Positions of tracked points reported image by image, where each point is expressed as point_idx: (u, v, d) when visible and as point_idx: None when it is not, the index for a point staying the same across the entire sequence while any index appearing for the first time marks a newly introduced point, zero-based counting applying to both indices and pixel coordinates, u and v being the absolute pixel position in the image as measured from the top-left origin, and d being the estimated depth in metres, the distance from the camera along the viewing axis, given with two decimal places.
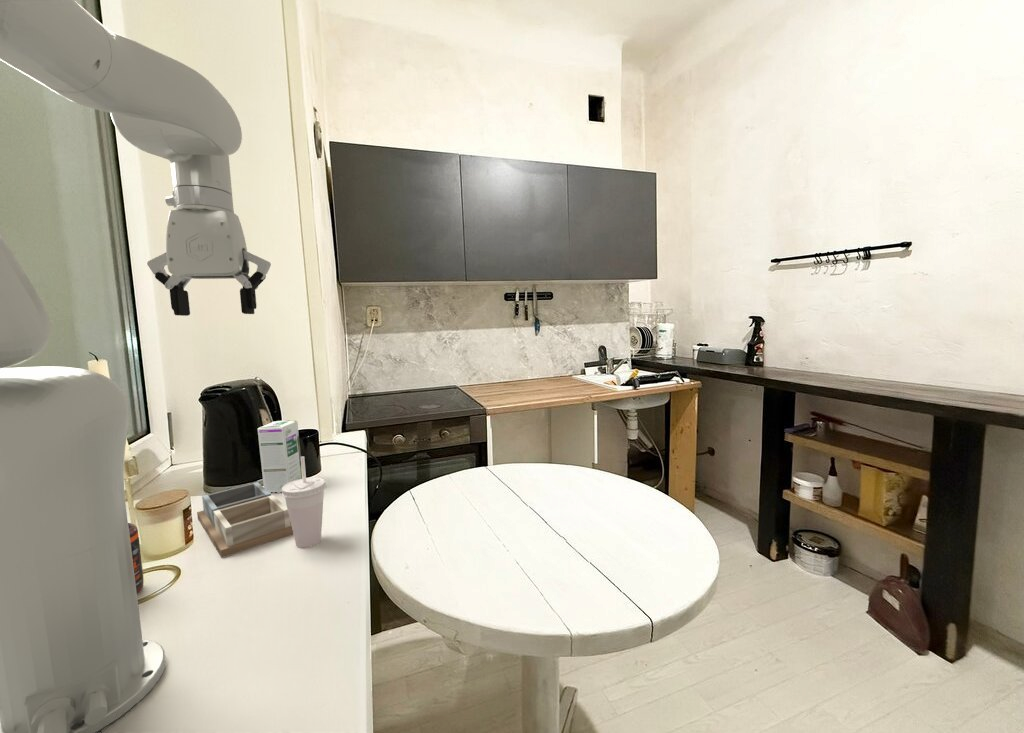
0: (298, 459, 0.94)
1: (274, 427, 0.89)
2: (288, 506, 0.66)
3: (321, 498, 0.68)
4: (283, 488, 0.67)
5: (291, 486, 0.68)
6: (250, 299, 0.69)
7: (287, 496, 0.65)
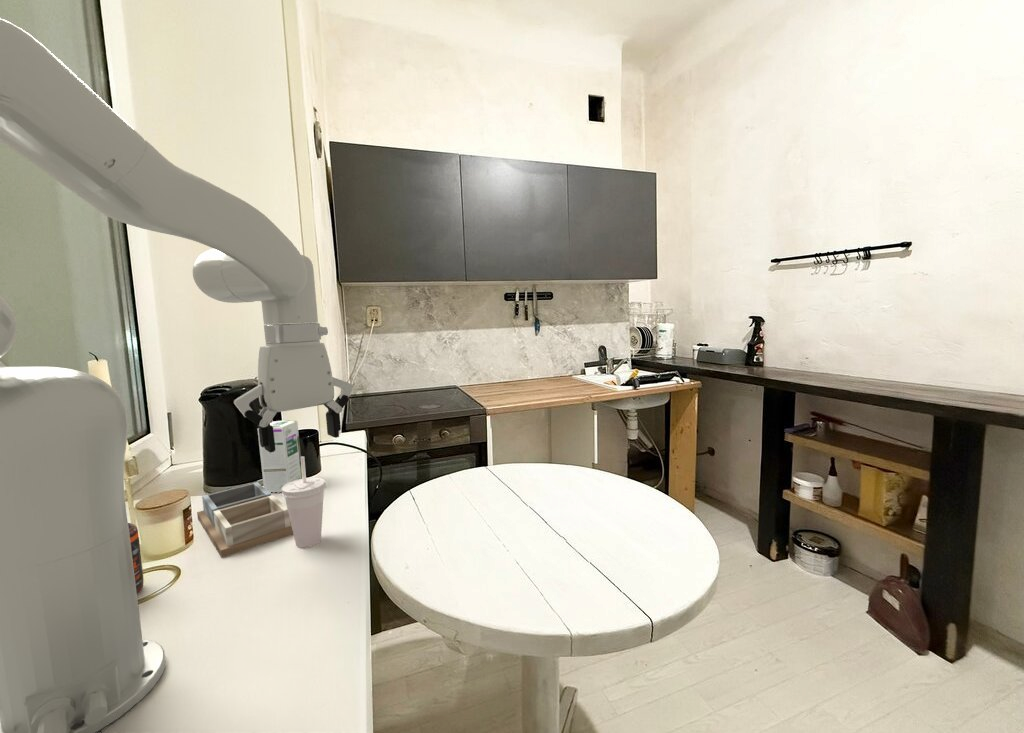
0: (298, 459, 0.94)
1: (274, 427, 0.89)
2: (288, 506, 0.66)
3: (321, 498, 0.68)
4: (283, 488, 0.67)
5: (291, 486, 0.68)
6: None
7: (287, 496, 0.65)
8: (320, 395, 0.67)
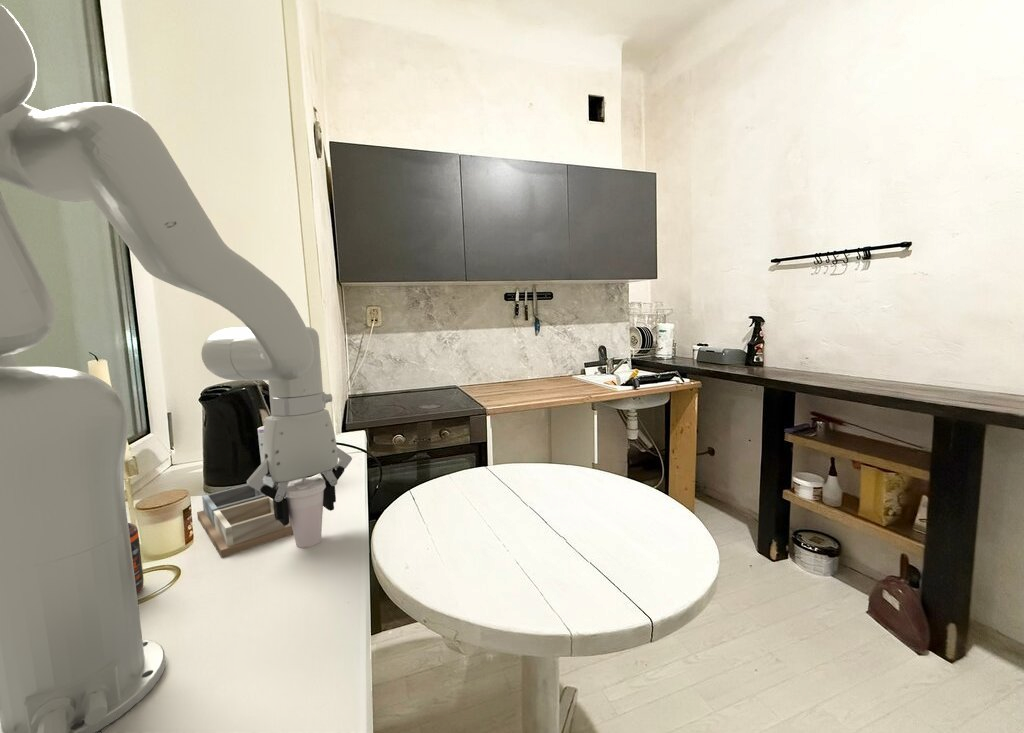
0: None
1: None
2: (288, 506, 0.66)
3: (321, 498, 0.68)
4: None
5: (291, 486, 0.68)
6: None
7: (287, 496, 0.65)
8: (324, 463, 0.68)
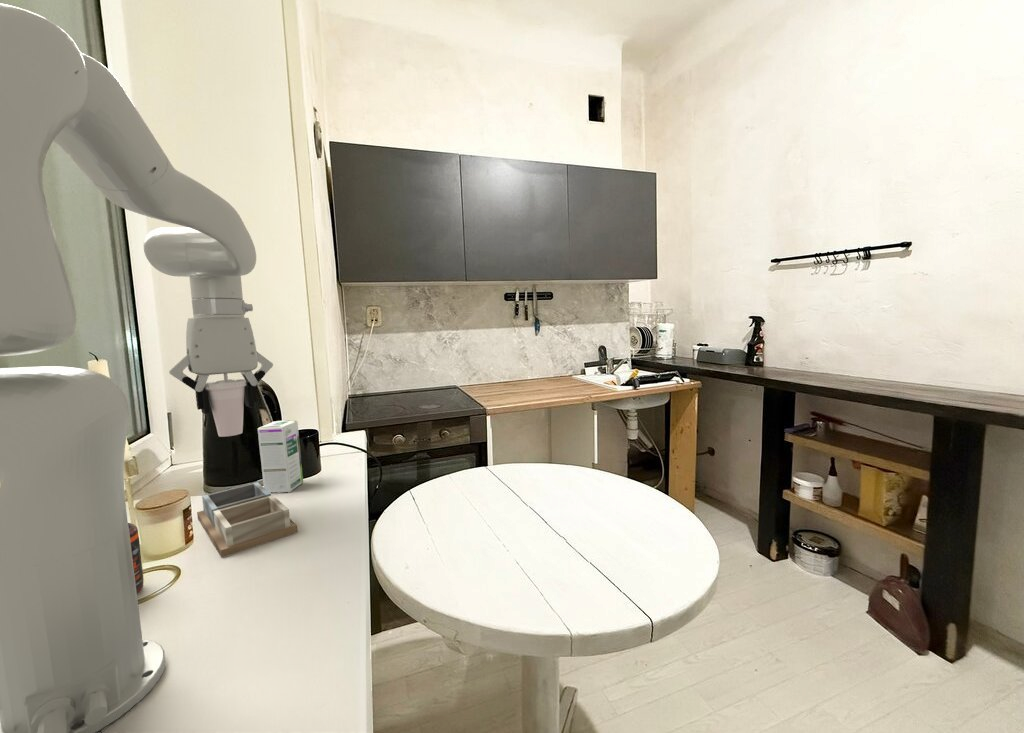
0: (298, 459, 0.94)
1: (274, 427, 0.89)
2: (209, 398, 0.75)
3: (240, 394, 0.77)
4: None
5: (213, 382, 0.76)
6: None
7: (207, 388, 0.74)
8: (243, 363, 0.77)
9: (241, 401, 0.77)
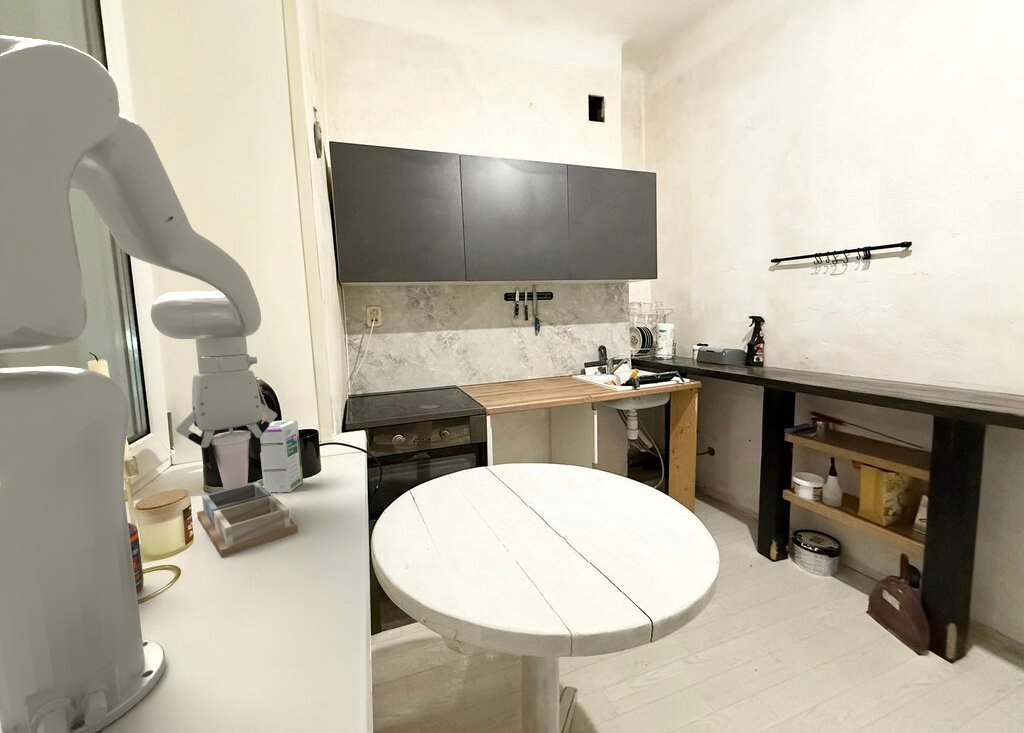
0: (298, 459, 0.94)
1: (274, 427, 0.89)
2: (215, 453, 0.76)
3: (245, 447, 0.78)
4: None
5: (218, 436, 0.77)
6: None
7: (213, 443, 0.75)
8: (248, 417, 0.78)
9: (246, 454, 0.78)
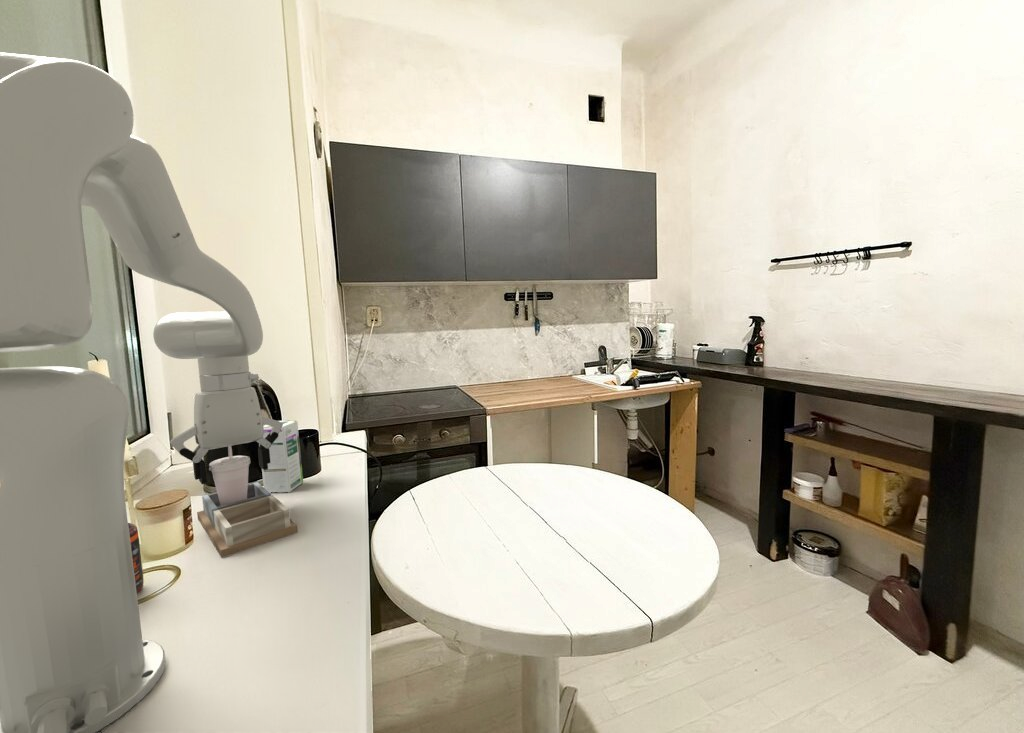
0: (298, 459, 0.94)
1: None
2: (214, 479, 0.76)
3: (245, 473, 0.78)
4: (210, 463, 0.76)
5: (218, 462, 0.77)
6: None
7: (212, 470, 0.75)
8: (249, 434, 0.78)
9: (245, 479, 0.78)
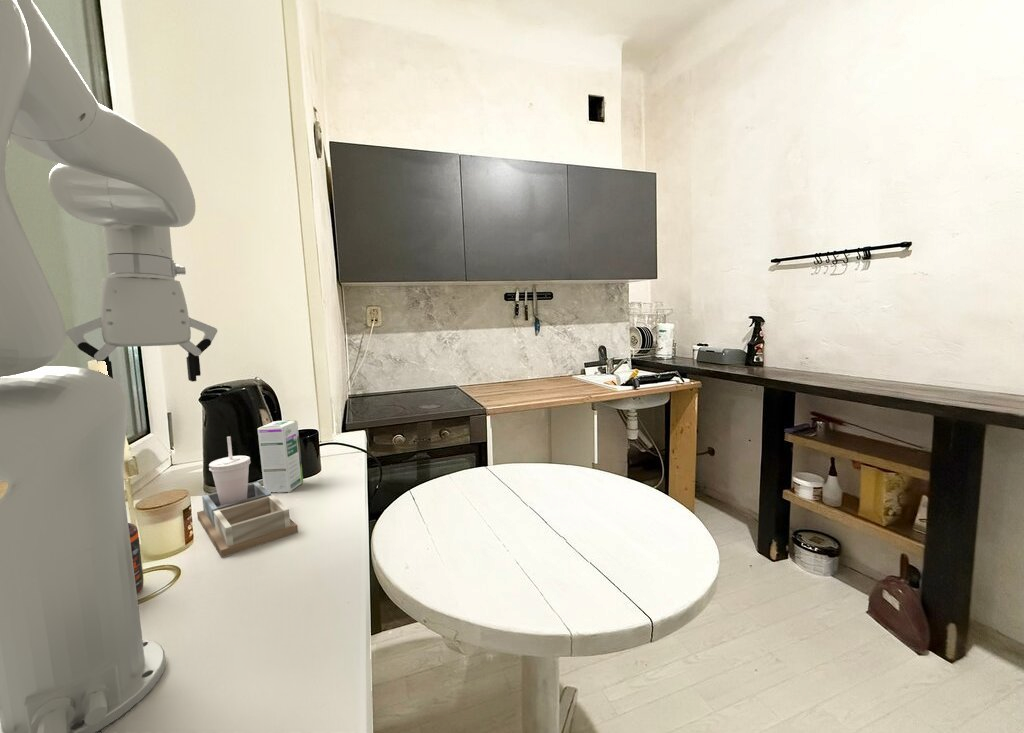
0: (298, 459, 0.94)
1: (274, 427, 0.89)
2: (214, 479, 0.76)
3: (245, 473, 0.78)
4: (210, 463, 0.76)
5: (218, 462, 0.77)
6: None
7: (212, 470, 0.75)
8: (171, 334, 0.65)
9: (245, 480, 0.78)
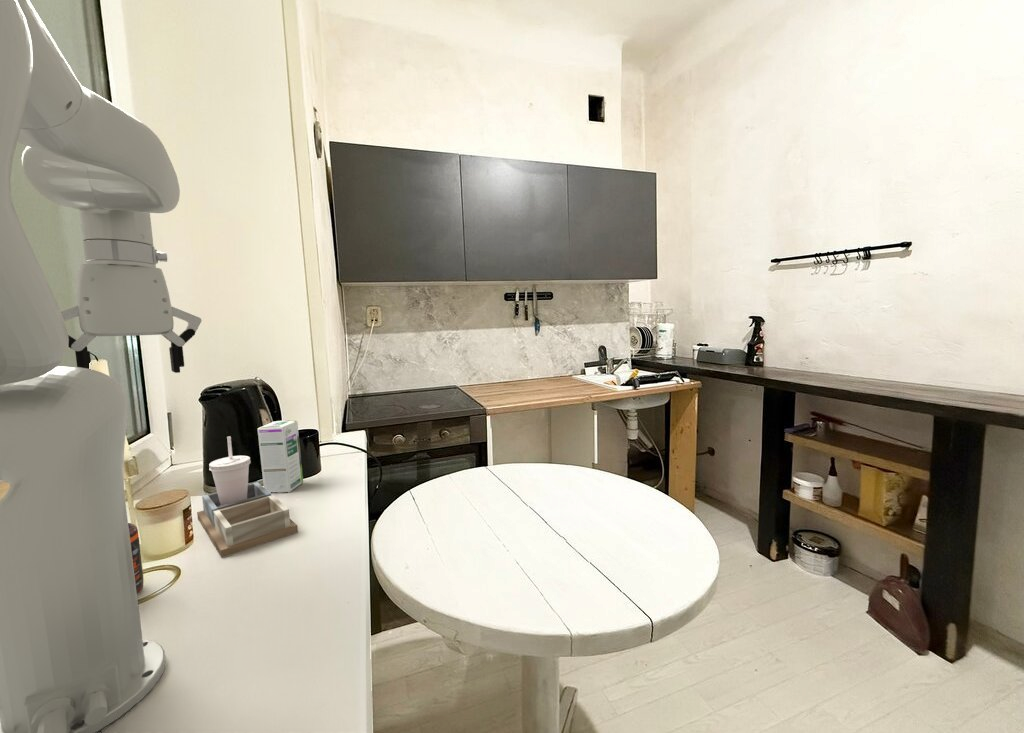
0: (298, 459, 0.94)
1: (274, 427, 0.89)
2: (214, 479, 0.76)
3: (245, 473, 0.78)
4: (210, 463, 0.76)
5: (218, 462, 0.77)
6: None
7: (212, 470, 0.75)
8: (153, 324, 0.63)
9: (245, 479, 0.78)
